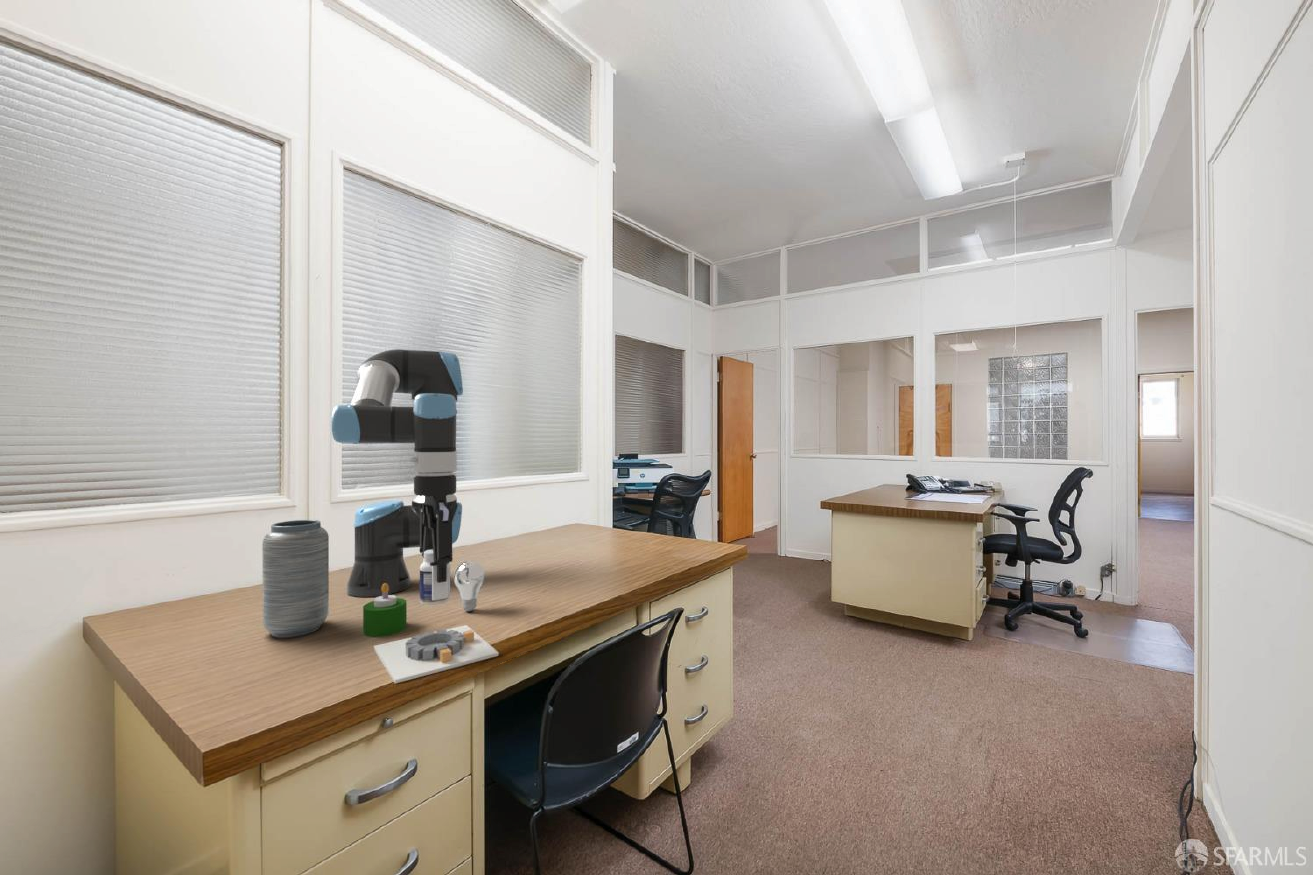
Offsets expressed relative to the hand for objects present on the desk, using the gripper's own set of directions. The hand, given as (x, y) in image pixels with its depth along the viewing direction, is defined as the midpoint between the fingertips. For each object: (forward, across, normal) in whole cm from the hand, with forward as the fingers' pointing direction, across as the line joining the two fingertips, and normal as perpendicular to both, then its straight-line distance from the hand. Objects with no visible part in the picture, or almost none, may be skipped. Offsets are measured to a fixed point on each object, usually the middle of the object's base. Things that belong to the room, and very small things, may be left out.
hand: (435, 594), depth 100 cm
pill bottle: (+2, 0, 0) cm, 2 cm away
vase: (+11, -30, -20) cm, 38 cm away
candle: (+11, -19, -5) cm, 23 cm away
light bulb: (+11, -19, +13) cm, 26 cm away
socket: (+11, 0, 0) cm, 11 cm away
